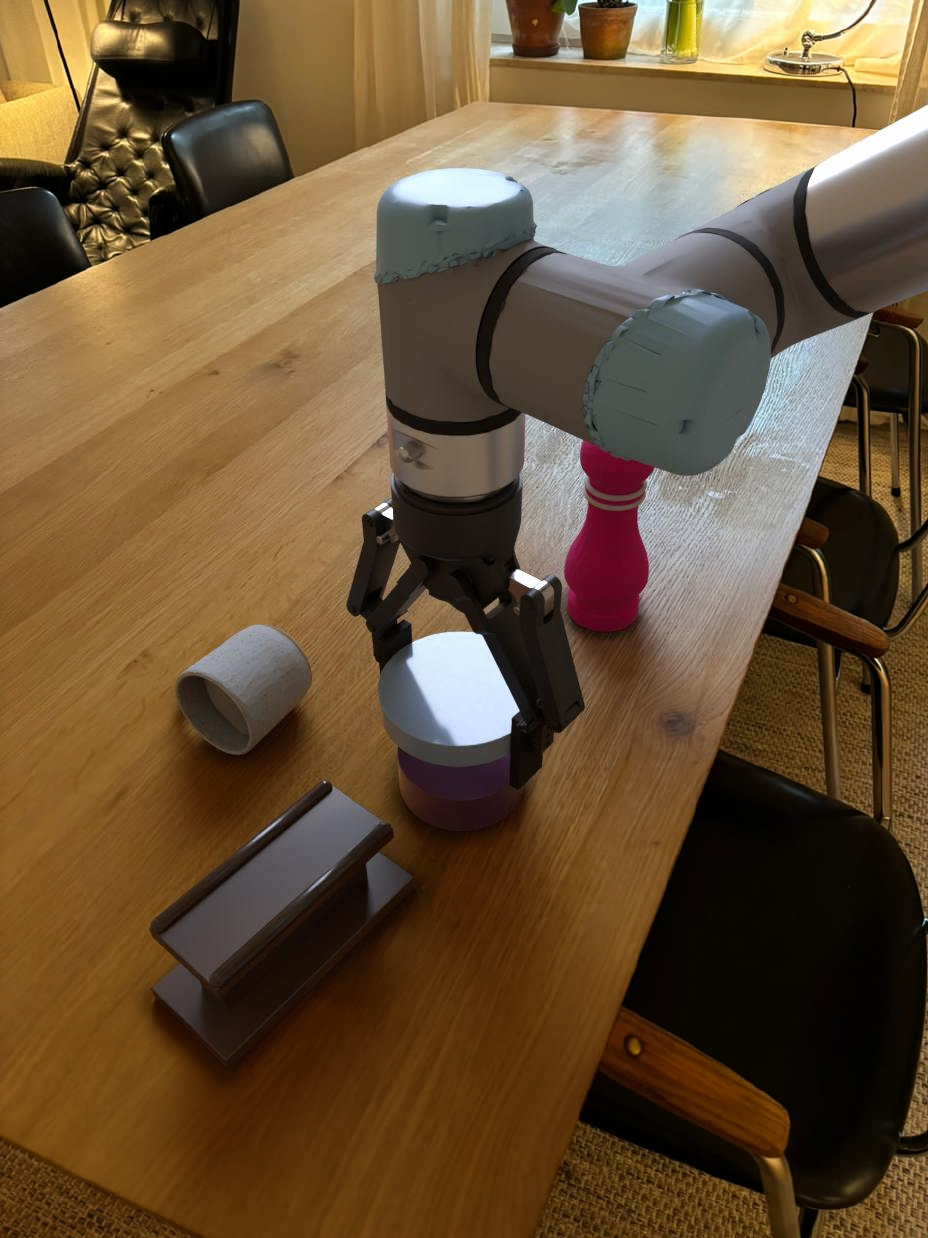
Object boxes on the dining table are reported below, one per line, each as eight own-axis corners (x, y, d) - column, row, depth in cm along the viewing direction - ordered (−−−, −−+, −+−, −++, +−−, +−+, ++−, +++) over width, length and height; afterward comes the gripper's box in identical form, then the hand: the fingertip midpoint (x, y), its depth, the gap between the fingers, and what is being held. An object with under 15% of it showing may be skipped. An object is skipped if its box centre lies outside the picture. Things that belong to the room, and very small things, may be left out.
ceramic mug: (324, 702, 79) (312, 630, 75) (259, 770, 74) (241, 696, 69) (223, 659, 84) (205, 588, 79) (154, 721, 78) (131, 648, 73)
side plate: (571, 698, 69) (573, 677, 67) (470, 794, 62) (470, 773, 61) (450, 631, 74) (450, 610, 73) (345, 713, 68) (343, 692, 66)
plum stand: (548, 774, 74) (551, 742, 71) (469, 854, 68) (469, 822, 66) (454, 717, 78) (453, 685, 76) (373, 788, 73) (370, 756, 71)
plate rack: (415, 887, 66) (410, 816, 61) (229, 1071, 57) (205, 1005, 52) (341, 833, 70) (331, 762, 65) (154, 998, 60) (126, 930, 56)
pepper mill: (544, 608, 88) (555, 406, 75) (598, 574, 92) (617, 375, 79) (606, 648, 84) (629, 441, 71) (660, 610, 88) (691, 407, 75)
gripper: (266, 428, 59) (306, 689, 74) (591, 584, 48) (564, 857, 62) (354, 382, 64) (376, 637, 78) (672, 515, 52) (629, 785, 67)
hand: (459, 735), depth 70 cm, fingers closed on side plate, 11 cm apart
